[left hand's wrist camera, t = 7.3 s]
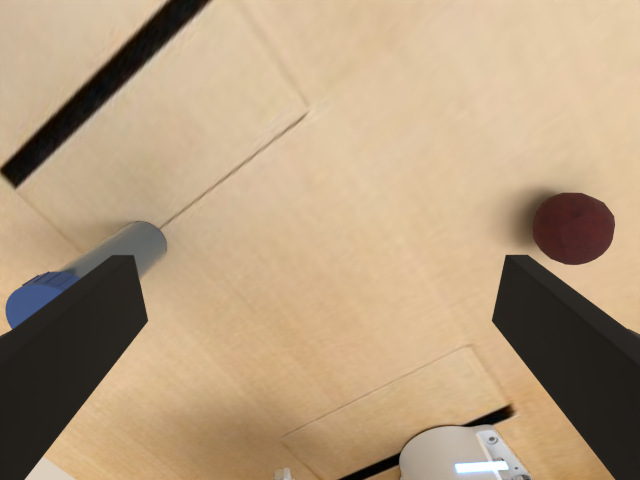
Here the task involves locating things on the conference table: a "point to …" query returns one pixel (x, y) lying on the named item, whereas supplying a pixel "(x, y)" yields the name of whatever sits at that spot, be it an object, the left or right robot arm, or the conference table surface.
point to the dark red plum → (573, 228)
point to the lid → (36, 295)
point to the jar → (123, 249)
